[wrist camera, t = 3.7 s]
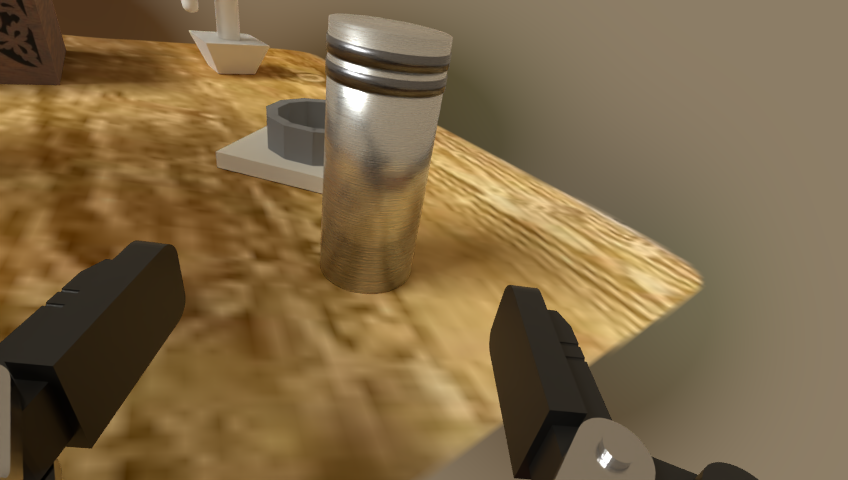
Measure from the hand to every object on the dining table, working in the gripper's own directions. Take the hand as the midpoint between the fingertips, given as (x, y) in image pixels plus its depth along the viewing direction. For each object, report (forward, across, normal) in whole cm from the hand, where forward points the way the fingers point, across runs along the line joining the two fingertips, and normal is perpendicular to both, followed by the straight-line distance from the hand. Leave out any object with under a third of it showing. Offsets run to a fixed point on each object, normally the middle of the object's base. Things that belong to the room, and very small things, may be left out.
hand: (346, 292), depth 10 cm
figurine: (+48, -21, -7) cm, 53 cm away
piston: (+11, 0, -7) cm, 13 cm away
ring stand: (+24, -5, -7) cm, 26 cm away
